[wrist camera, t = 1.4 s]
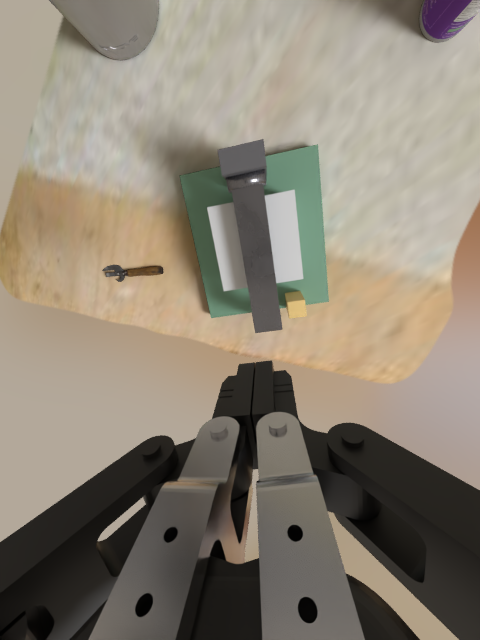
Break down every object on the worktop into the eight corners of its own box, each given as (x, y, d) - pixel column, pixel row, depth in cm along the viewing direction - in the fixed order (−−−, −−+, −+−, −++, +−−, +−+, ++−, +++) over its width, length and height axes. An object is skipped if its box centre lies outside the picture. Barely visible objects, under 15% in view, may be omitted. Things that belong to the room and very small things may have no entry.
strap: (233, 184, 30) (225, 174, 24) (264, 178, 29) (264, 165, 23) (255, 319, 35) (253, 336, 29) (282, 315, 34) (285, 332, 28)
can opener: (163, 265, 36) (160, 266, 35) (165, 282, 37) (162, 283, 36) (102, 263, 37) (97, 265, 36) (105, 280, 38) (100, 281, 37)
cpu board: (183, 177, 32) (151, 158, 23) (315, 148, 30) (336, 114, 21) (213, 314, 38) (196, 341, 29) (326, 298, 36) (346, 322, 27)
